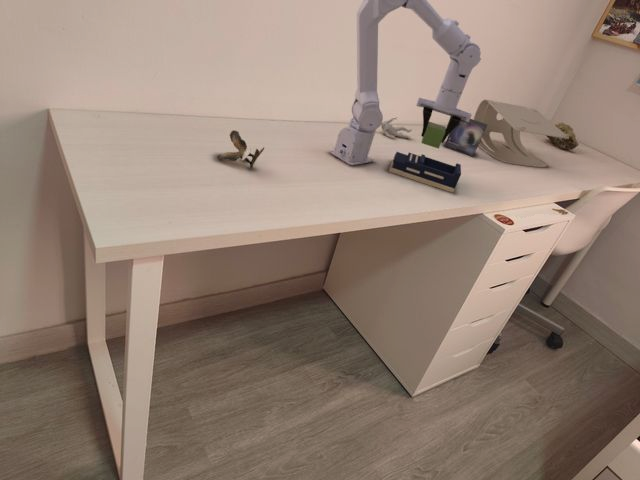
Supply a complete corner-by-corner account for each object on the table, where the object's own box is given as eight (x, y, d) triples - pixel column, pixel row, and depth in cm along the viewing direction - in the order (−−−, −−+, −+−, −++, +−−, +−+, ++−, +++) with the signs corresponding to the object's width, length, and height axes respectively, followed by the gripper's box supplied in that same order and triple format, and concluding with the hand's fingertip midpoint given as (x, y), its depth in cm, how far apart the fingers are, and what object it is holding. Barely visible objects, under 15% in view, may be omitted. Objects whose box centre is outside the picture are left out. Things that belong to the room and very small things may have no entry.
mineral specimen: (577, 150, 201) (589, 129, 196) (571, 154, 191) (584, 132, 186) (546, 138, 207) (557, 117, 202) (538, 141, 198) (550, 119, 193)
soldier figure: (409, 145, 150) (383, 129, 144) (399, 149, 154) (373, 134, 148) (412, 124, 152) (386, 108, 146) (402, 129, 156) (376, 114, 150)
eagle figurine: (263, 157, 106) (231, 138, 106) (265, 140, 99) (231, 120, 100) (246, 181, 103) (212, 161, 103) (247, 164, 96) (211, 143, 96)
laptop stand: (513, 143, 182) (531, 106, 174) (554, 169, 164) (576, 129, 156) (462, 136, 173) (479, 96, 165) (500, 163, 154) (521, 119, 146)
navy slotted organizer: (452, 182, 127) (460, 164, 124) (452, 192, 120) (461, 174, 117) (392, 161, 129) (398, 144, 126) (388, 171, 121) (395, 152, 119)
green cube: (438, 148, 123) (445, 131, 120) (421, 143, 123) (427, 125, 120) (439, 143, 127) (445, 126, 124) (422, 138, 127) (428, 121, 125)
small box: (443, 146, 154) (455, 117, 149) (445, 142, 160) (457, 113, 154) (473, 157, 152) (486, 128, 147) (474, 152, 158) (487, 124, 152)
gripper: (477, 95, 120) (457, 142, 127) (425, 79, 121) (408, 127, 128) (479, 100, 114) (457, 150, 121) (424, 83, 115) (406, 133, 122)
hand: (432, 138), depth 124 cm, fingers closed on green cube, 5 cm apart
